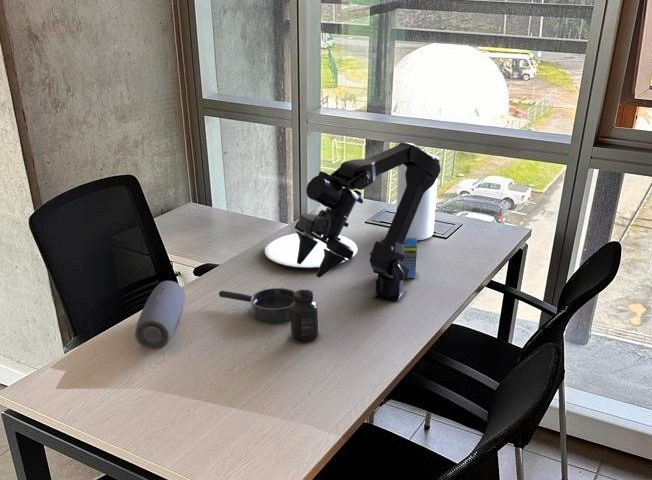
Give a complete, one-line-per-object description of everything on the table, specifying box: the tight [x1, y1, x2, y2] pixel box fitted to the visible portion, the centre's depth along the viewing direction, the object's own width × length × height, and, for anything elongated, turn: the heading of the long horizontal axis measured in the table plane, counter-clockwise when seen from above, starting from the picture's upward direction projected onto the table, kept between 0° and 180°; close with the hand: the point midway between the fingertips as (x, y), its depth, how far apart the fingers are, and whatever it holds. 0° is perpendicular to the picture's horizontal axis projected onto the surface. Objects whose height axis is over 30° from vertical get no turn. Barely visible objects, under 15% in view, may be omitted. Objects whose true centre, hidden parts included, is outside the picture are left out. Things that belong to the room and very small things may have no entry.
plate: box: [264, 233, 358, 269], centre depth 226 cm, size 29×29×2 cm
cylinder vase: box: [395, 153, 440, 241], centre depth 232 cm, size 12×12×25 cm
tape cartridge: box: [402, 238, 418, 279], centre depth 207 cm, size 9×4×12 cm, turn 84°
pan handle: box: [218, 290, 254, 303], centre depth 195 cm, size 11×2×2 cm, turn 67°
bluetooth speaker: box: [134, 280, 186, 351], centre depth 182 cm, size 23×9×10 cm, turn 178°
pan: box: [249, 287, 296, 324], centre depth 191 cm, size 13×13×4 cm
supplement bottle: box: [290, 289, 319, 344], centre depth 177 cm, size 7×7×12 cm
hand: (308, 270), depth 178 cm, fingers open, 9 cm apart
